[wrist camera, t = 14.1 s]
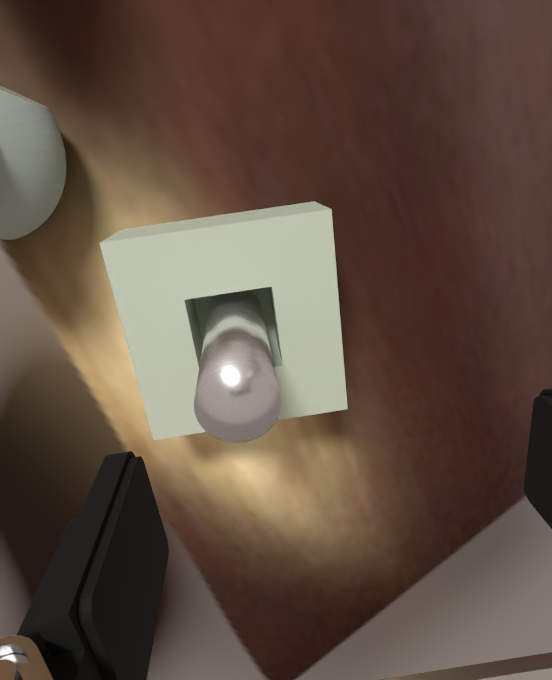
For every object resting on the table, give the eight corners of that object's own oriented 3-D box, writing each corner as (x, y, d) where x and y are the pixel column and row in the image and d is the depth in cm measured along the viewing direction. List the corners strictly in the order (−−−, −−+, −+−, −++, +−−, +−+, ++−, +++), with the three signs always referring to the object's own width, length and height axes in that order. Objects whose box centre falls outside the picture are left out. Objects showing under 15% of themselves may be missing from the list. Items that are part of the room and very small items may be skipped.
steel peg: (258, 283, 33) (274, 359, 20) (265, 333, 35) (285, 435, 22) (204, 291, 33) (185, 373, 20) (213, 341, 35) (202, 448, 22)
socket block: (314, 201, 33) (331, 209, 27) (330, 373, 38) (347, 409, 33) (122, 229, 32) (99, 242, 27) (165, 399, 38) (153, 440, 32)
